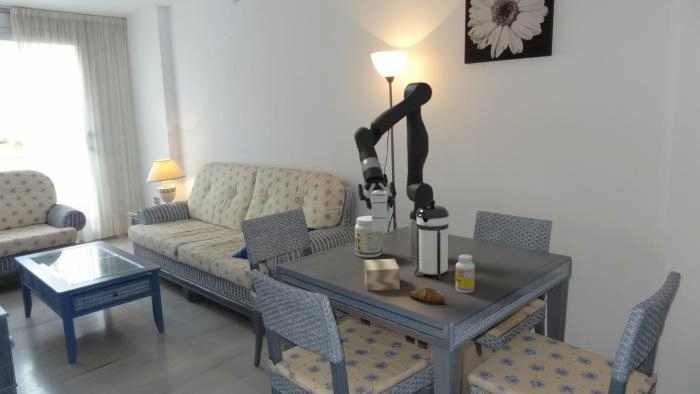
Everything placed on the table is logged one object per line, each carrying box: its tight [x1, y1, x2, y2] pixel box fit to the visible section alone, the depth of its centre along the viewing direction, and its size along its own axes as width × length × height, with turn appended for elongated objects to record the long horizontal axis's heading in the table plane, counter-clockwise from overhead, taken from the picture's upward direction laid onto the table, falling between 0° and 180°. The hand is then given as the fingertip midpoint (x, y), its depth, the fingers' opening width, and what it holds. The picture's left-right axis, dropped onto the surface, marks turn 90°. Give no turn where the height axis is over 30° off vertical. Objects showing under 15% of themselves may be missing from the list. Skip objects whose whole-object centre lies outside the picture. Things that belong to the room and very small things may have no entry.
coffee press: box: [413, 199, 451, 281], centre depth 199 cm, size 17×16×30 cm
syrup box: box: [370, 189, 390, 232], centre depth 186 cm, size 6×6×14 cm
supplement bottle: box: [455, 253, 476, 294], centre depth 181 cm, size 7×7×13 cm
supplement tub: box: [354, 215, 383, 259], centre depth 227 cm, size 12×12×17 cm
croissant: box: [409, 287, 447, 305], centre depth 174 cm, size 14×7×5 cm, turn 55°
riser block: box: [363, 258, 401, 291], centre depth 190 cm, size 12×12×8 cm
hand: (381, 207), depth 184 cm, fingers closed on syrup box, 7 cm apart
